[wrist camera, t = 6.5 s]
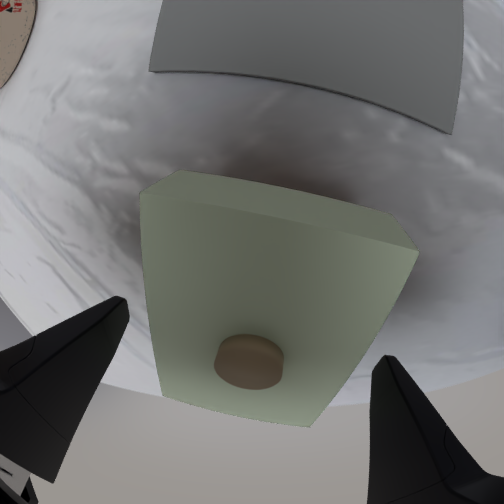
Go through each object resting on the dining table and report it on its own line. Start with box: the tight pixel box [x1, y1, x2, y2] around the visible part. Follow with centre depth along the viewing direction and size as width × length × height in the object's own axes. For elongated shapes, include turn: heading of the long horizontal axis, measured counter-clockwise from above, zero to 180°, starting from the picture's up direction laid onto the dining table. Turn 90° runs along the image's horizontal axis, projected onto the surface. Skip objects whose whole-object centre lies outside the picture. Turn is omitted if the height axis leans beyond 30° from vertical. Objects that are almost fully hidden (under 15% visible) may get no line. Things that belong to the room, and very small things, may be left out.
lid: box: [140, 170, 420, 427], centre depth 9 cm, size 7×9×3 cm
